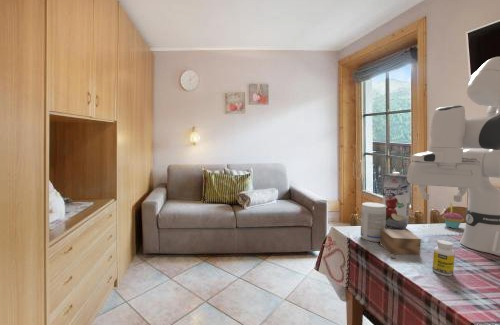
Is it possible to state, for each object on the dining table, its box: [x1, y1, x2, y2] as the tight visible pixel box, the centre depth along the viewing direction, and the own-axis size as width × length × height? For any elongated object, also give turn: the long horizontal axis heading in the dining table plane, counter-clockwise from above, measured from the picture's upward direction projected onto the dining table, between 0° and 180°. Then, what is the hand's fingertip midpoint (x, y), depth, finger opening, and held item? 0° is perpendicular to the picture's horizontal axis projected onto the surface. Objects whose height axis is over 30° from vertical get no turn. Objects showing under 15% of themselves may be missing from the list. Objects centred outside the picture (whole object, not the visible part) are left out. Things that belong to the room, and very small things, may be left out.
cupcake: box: [442, 203, 465, 229], centre depth 133 cm, size 9×8×12 cm
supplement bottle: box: [432, 239, 456, 277], centre depth 86 cm, size 5×5×10 cm
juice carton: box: [382, 171, 412, 230], centre depth 131 cm, size 9×10×27 cm
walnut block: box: [380, 228, 422, 256], centre depth 105 cm, size 10×10×6 cm
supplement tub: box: [360, 201, 386, 243], centre depth 115 cm, size 10×10×15 cm
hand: (441, 200), depth 87 cm, fingers open, 8 cm apart
